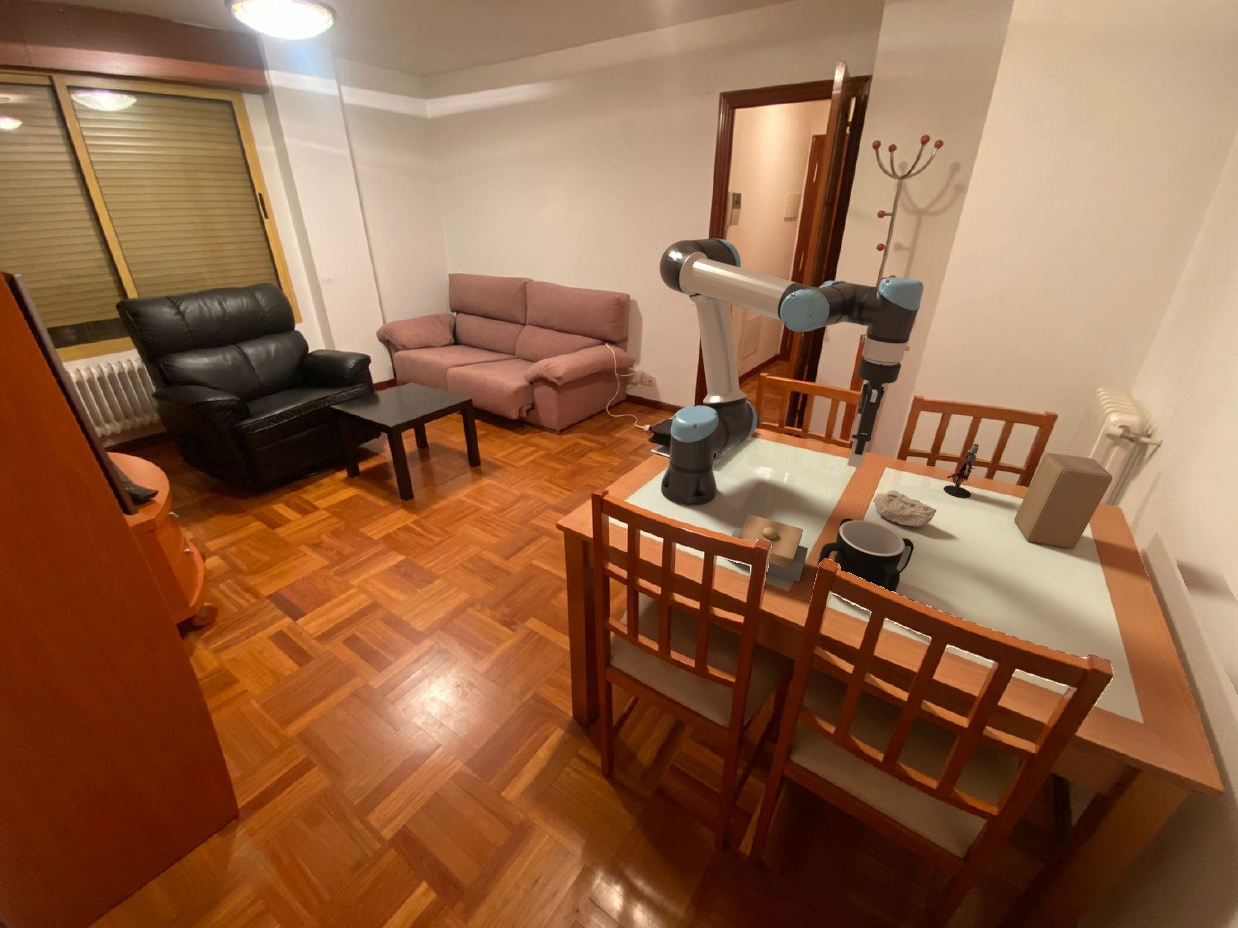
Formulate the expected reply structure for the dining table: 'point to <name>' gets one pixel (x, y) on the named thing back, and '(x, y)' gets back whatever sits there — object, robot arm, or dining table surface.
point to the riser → (783, 571)
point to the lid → (774, 538)
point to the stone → (903, 509)
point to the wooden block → (1061, 499)
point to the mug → (870, 552)
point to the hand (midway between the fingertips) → (855, 453)
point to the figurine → (962, 474)
